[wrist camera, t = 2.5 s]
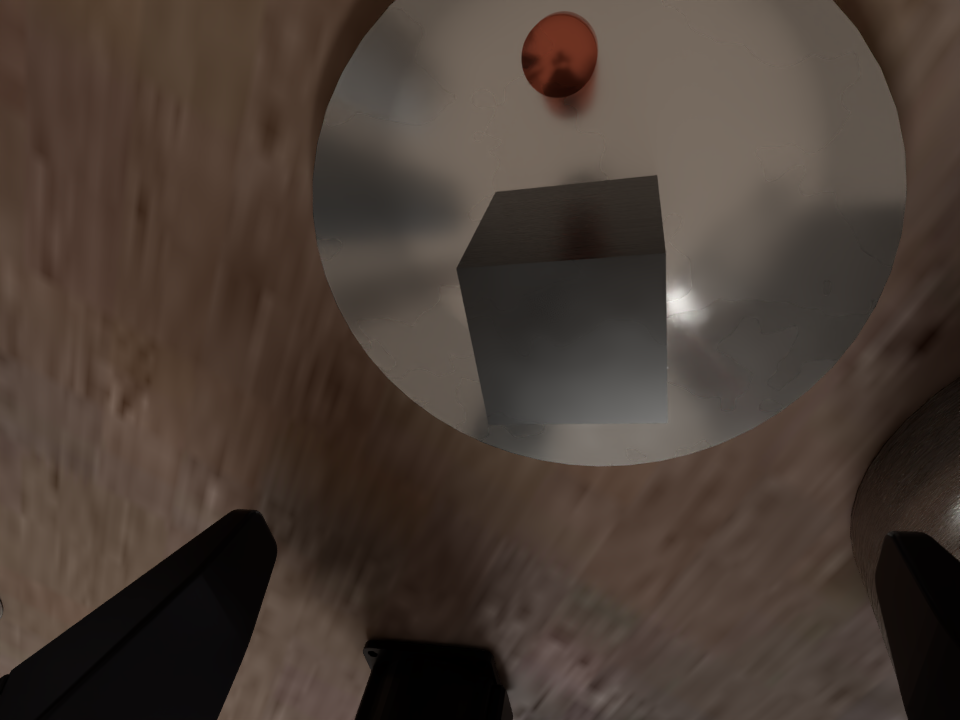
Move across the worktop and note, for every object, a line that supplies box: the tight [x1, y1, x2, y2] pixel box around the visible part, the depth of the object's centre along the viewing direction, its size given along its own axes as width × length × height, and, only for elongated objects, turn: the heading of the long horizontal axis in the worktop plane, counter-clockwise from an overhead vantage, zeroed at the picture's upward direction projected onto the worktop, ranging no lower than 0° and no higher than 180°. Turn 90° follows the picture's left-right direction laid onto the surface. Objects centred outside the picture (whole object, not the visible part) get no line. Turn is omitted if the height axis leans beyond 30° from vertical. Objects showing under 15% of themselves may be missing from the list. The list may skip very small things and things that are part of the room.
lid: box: [313, 0, 907, 466], centre depth 15 cm, size 15×15×6 cm
